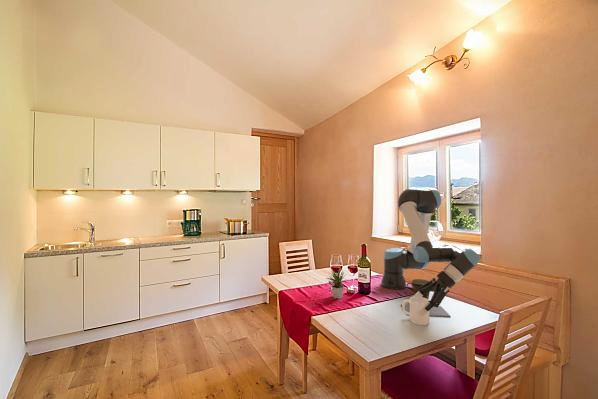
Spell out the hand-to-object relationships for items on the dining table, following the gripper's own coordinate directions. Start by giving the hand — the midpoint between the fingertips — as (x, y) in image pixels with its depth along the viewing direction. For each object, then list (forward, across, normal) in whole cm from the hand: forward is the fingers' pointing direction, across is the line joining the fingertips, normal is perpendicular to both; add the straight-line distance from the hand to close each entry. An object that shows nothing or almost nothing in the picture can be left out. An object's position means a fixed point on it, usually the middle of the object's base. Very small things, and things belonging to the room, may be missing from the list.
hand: (415, 308), depth 130 cm
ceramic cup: (-3, +27, -11) cm, 30 cm away
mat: (-1, +12, -10) cm, 15 cm away
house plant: (+29, +28, +21) cm, 46 cm away
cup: (+4, +1, -4) cm, 6 cm away
